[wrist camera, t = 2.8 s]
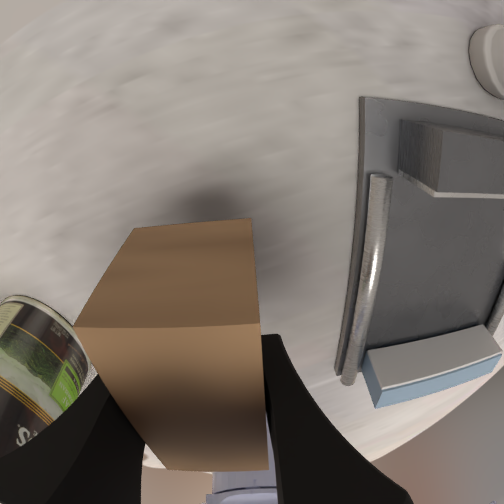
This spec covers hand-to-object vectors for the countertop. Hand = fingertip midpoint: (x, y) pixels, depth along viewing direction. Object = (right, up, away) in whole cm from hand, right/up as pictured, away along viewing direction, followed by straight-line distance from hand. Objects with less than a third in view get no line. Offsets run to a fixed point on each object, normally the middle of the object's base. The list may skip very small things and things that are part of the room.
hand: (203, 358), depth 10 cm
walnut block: (0, +1, +2) cm, 2 cm away
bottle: (+17, +16, +2) cm, 23 cm away
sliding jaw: (+16, -4, +11) cm, 20 cm away
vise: (+16, +3, +8) cm, 18 cm away
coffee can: (-17, -4, +11) cm, 21 cm away
